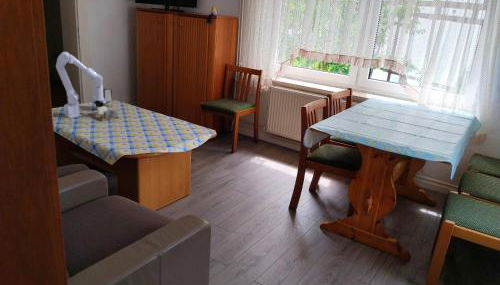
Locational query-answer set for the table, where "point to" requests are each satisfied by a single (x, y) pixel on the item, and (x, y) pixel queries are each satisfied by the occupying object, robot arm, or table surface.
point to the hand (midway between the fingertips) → (99, 110)
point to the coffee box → (107, 98)
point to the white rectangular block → (101, 110)
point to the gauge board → (105, 115)
